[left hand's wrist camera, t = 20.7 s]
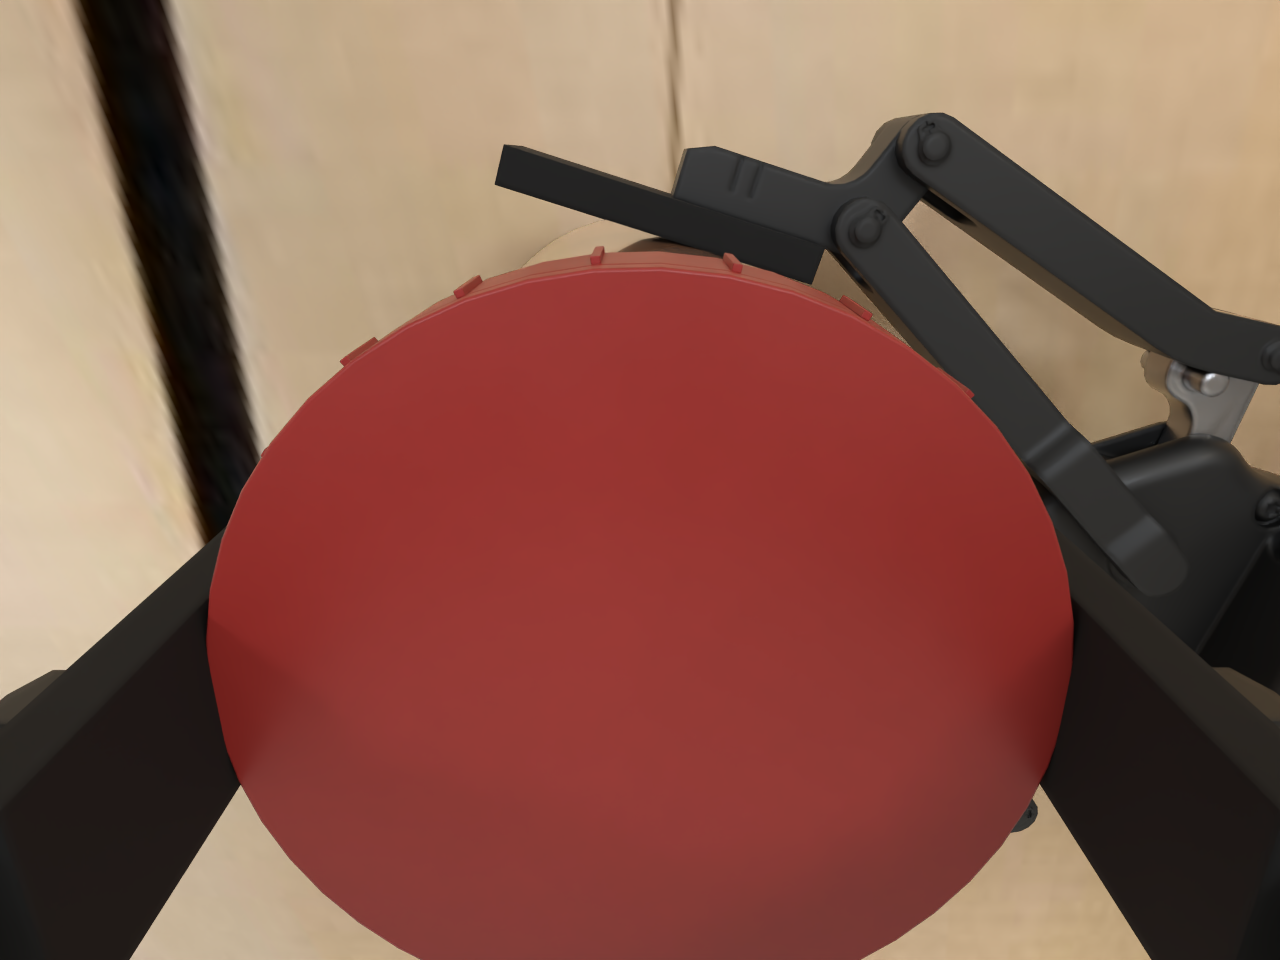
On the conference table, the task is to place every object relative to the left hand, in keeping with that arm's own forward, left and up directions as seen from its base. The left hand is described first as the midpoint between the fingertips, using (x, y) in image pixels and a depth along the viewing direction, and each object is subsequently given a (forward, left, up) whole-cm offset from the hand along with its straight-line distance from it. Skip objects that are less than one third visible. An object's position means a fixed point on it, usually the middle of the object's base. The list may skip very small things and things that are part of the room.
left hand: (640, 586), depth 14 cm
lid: (0, 0, +3) cm, 3 cm away
